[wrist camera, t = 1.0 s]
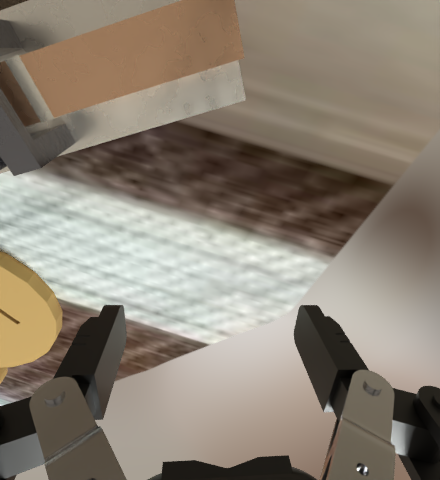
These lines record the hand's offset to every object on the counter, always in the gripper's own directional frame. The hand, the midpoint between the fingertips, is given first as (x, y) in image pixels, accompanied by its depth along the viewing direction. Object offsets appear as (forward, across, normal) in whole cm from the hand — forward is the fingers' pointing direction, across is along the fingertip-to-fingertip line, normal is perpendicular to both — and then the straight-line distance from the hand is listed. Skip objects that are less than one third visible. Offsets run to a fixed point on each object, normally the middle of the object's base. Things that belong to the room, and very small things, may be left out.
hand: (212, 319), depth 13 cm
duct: (+21, +7, -12) cm, 25 cm away
